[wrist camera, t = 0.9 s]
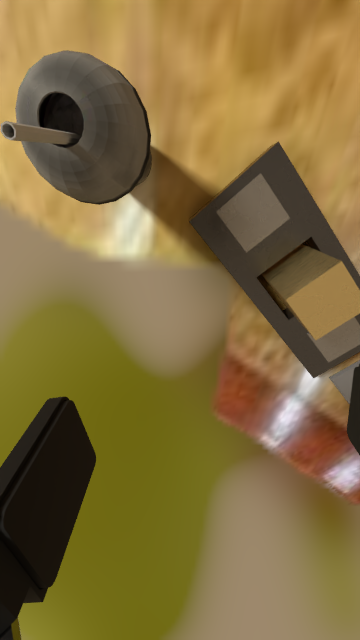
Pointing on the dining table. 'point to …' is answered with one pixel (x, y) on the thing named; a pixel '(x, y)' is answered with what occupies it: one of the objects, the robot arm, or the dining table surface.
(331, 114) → the dining table surface
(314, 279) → the brass block
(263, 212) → the dark grey flat block
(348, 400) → the rubber mat
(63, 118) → the beverage cup
